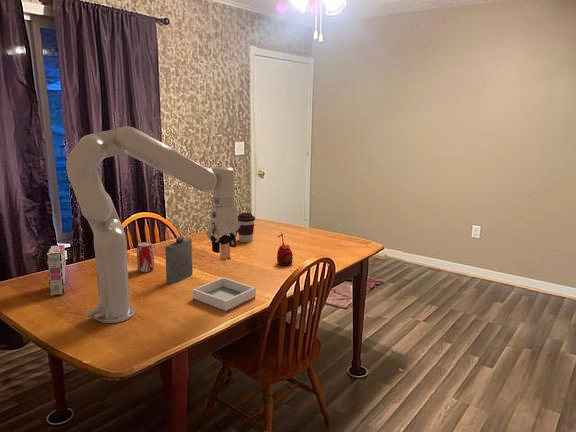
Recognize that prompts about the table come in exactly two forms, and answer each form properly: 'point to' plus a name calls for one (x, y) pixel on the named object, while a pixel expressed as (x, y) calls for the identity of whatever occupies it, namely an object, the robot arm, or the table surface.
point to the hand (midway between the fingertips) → (224, 249)
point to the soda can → (145, 257)
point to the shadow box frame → (224, 294)
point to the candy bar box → (57, 270)
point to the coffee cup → (246, 227)
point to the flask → (178, 260)
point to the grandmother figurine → (225, 247)
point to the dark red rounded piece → (284, 254)
